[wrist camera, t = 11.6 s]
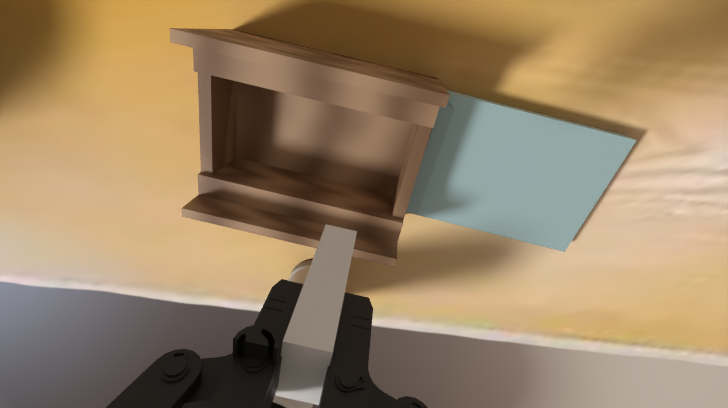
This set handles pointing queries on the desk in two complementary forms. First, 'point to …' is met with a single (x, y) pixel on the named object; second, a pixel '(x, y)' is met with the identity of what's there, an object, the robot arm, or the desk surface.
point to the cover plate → (514, 171)
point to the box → (306, 140)
